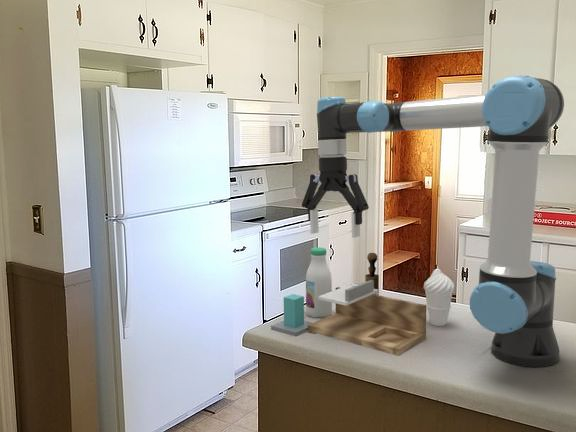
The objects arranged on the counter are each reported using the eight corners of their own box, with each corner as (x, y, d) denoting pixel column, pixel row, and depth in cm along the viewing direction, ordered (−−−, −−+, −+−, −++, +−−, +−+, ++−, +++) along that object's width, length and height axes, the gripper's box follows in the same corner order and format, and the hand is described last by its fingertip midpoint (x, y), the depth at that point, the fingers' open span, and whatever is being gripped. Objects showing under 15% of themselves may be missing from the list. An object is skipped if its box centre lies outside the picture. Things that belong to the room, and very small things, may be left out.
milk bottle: (332, 310, 174) (331, 245, 171) (331, 318, 167) (331, 251, 164) (307, 309, 175) (306, 245, 172) (305, 318, 167) (304, 251, 164)
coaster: (316, 327, 160) (316, 323, 159) (296, 336, 153) (295, 332, 153) (292, 320, 165) (292, 317, 165) (271, 329, 159) (271, 325, 158)
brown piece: (425, 340, 148) (426, 305, 147) (398, 357, 138) (398, 319, 136) (338, 318, 166) (337, 287, 165) (308, 331, 156) (307, 298, 154)
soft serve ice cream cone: (459, 327, 157) (461, 270, 155) (434, 331, 154) (435, 274, 152) (441, 318, 165) (442, 264, 163) (416, 322, 162) (417, 267, 160)
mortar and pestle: (357, 309, 175) (357, 251, 172) (376, 306, 177) (377, 249, 174) (367, 315, 169) (367, 256, 166) (386, 313, 170) (387, 254, 168)
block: (304, 324, 159) (303, 296, 158) (295, 328, 156) (294, 299, 155) (293, 321, 162) (292, 293, 160) (284, 325, 159) (283, 297, 158)
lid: (377, 317, 159) (378, 278, 157) (346, 332, 147) (346, 291, 146) (350, 311, 164) (350, 273, 163) (318, 325, 153) (318, 285, 151)
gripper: (380, 155, 147) (382, 236, 150) (304, 156, 163) (306, 229, 166) (365, 156, 141) (367, 240, 144) (287, 157, 157) (290, 233, 160)
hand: (334, 234), depth 155 cm, fingers open, 13 cm apart
